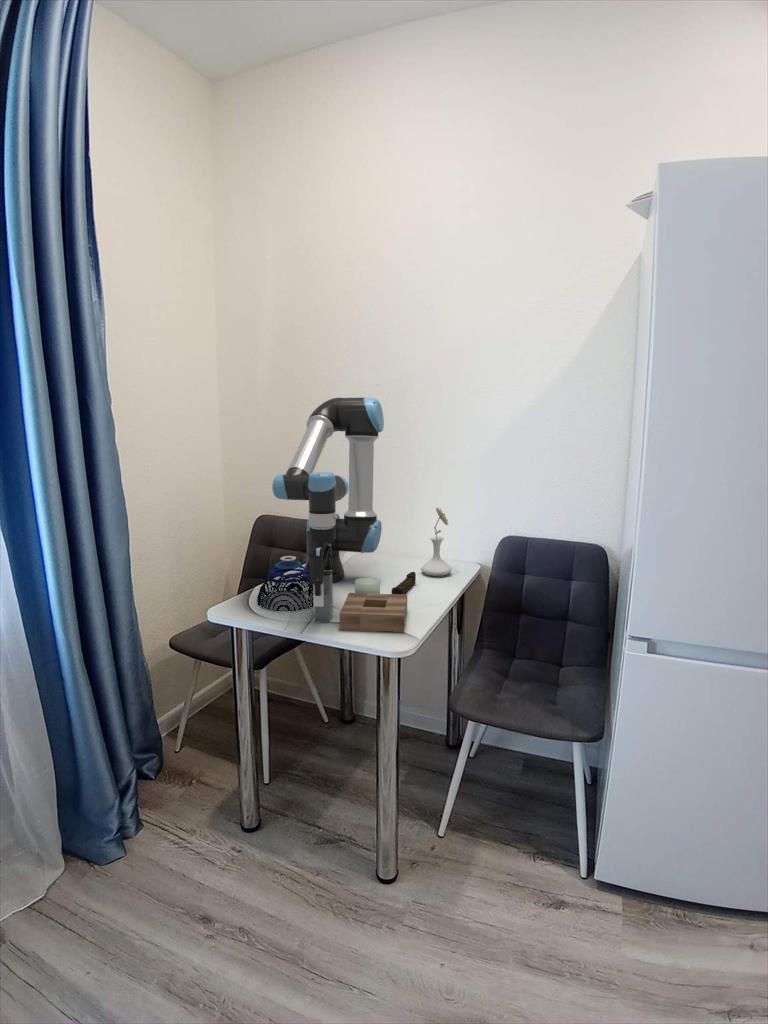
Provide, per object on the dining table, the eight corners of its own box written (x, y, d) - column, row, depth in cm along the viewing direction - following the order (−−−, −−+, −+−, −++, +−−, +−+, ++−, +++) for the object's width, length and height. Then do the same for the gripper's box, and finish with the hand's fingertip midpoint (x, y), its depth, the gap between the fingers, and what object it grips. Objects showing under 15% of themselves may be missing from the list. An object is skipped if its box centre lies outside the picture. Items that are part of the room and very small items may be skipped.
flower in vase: (450, 579, 208) (452, 511, 203) (419, 577, 210) (420, 510, 205) (452, 569, 220) (453, 505, 216) (422, 567, 222) (423, 504, 218)
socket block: (349, 608, 177) (349, 592, 176) (407, 610, 176) (407, 594, 175) (339, 630, 159) (339, 613, 159) (404, 632, 158) (404, 615, 157)
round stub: (356, 597, 187) (356, 577, 186) (381, 598, 186) (381, 578, 185) (353, 606, 179) (353, 584, 178) (378, 607, 178) (378, 585, 177)
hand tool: (402, 599, 186) (402, 586, 185) (390, 598, 188) (391, 584, 187) (422, 584, 203) (422, 571, 202) (411, 582, 205) (411, 569, 204)
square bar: (317, 616, 170) (317, 570, 168) (332, 616, 170) (332, 571, 167) (314, 621, 166) (313, 575, 163) (330, 622, 165) (329, 575, 163)
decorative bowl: (324, 591, 193) (324, 550, 191) (316, 612, 174) (315, 566, 171) (266, 591, 194) (264, 549, 191) (251, 611, 174) (249, 566, 172)
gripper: (327, 536, 150) (328, 613, 154) (342, 519, 175) (342, 586, 178) (299, 535, 151) (300, 612, 154) (318, 518, 175) (319, 585, 179)
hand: (323, 598), depth 166 cm, fingers open, 13 cm apart
